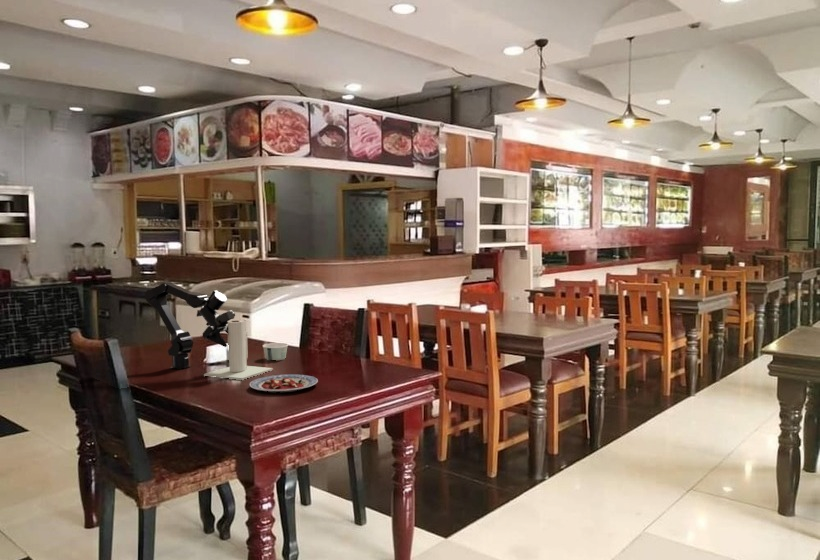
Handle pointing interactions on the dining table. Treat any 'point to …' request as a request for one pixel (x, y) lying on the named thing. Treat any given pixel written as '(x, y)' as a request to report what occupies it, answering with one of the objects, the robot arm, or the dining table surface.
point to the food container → (275, 351)
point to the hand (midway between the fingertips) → (233, 344)
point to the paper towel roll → (237, 346)
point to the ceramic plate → (283, 383)
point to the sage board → (241, 375)
